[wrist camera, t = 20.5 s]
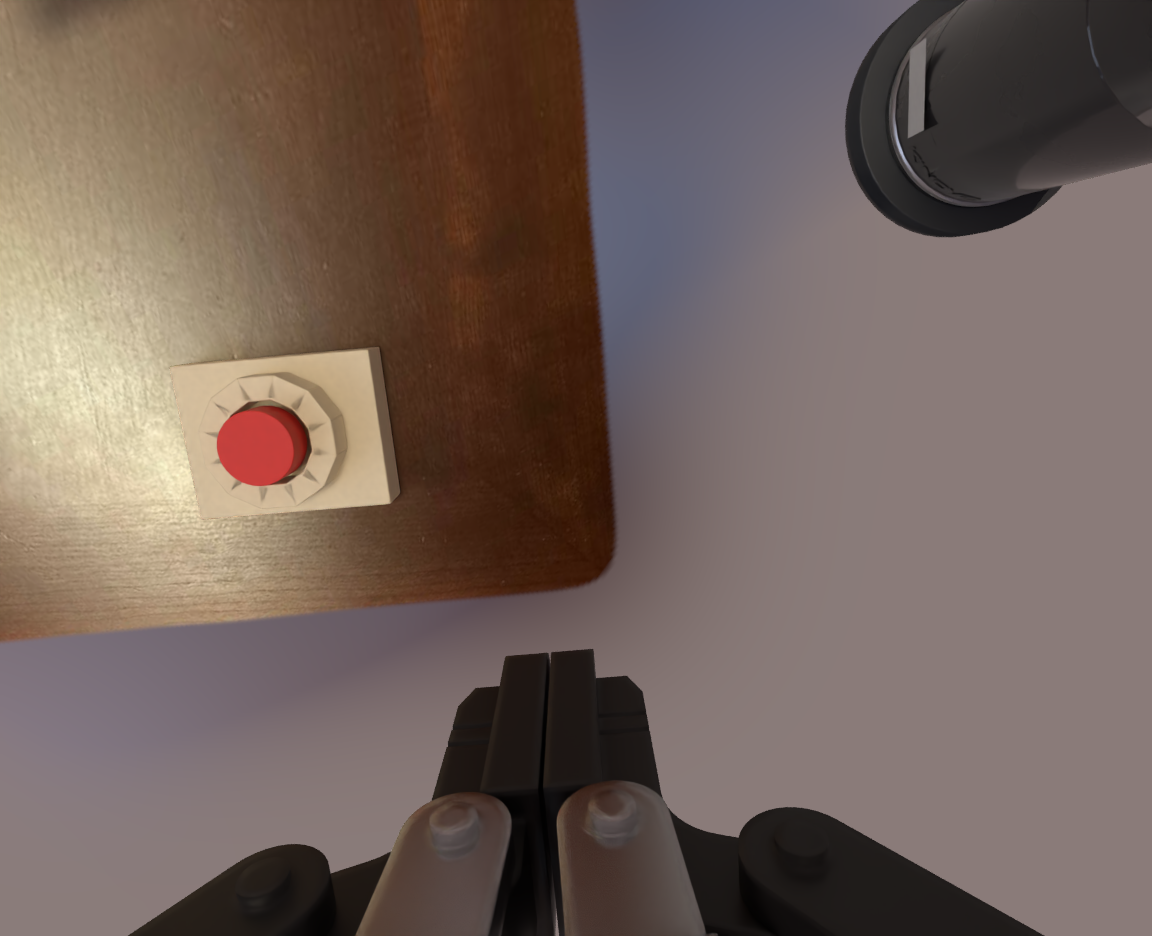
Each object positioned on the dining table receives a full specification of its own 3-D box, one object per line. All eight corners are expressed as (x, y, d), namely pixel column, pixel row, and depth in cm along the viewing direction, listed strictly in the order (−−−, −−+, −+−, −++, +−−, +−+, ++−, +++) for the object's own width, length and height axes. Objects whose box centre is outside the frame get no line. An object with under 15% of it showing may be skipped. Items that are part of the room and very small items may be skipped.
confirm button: (241, 480, 35) (224, 489, 33) (227, 408, 34) (209, 414, 33) (313, 474, 35) (300, 483, 33) (300, 402, 34) (286, 407, 33)
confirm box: (220, 508, 39) (182, 530, 35) (191, 363, 37) (147, 369, 34) (400, 493, 39) (381, 514, 35) (379, 346, 37) (357, 351, 33)
